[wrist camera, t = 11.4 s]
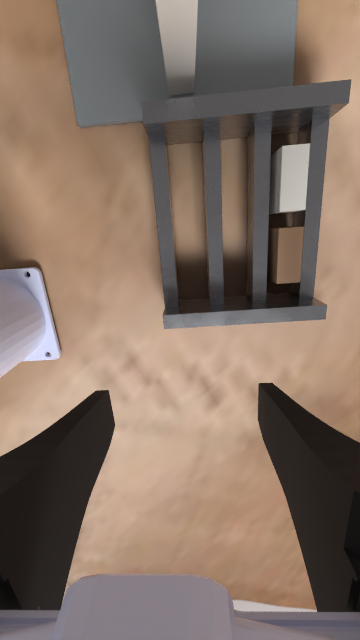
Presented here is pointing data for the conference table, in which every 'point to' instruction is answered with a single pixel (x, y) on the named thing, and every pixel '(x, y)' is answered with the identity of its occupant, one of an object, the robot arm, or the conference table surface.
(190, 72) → the sheet
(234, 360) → the conference table surface
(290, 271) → the offcut walnut
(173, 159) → the conference table surface
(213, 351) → the conference table surface
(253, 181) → the rack
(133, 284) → the conference table surface
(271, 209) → the offcut grey
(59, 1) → the mat
